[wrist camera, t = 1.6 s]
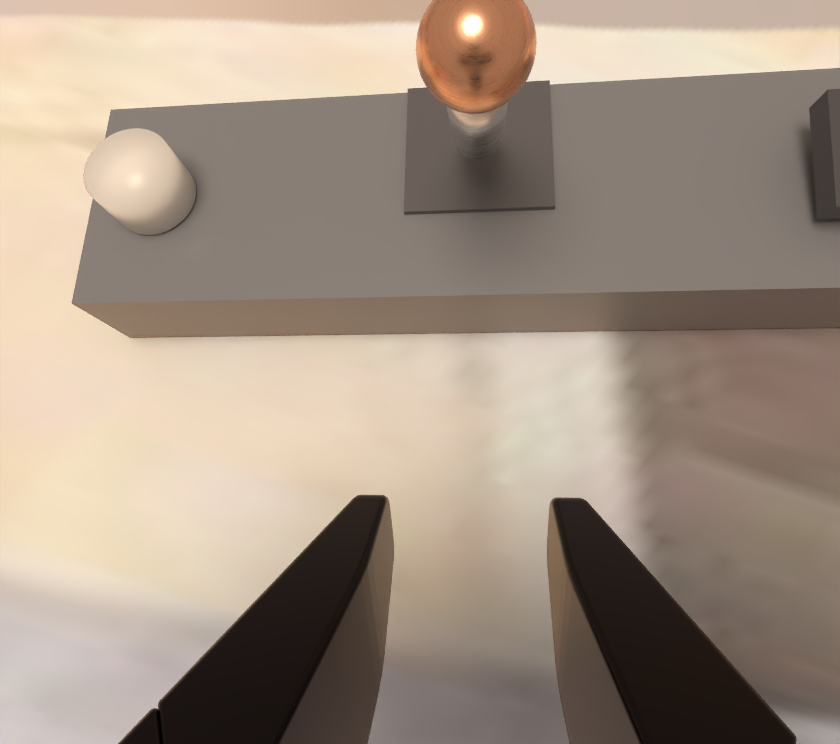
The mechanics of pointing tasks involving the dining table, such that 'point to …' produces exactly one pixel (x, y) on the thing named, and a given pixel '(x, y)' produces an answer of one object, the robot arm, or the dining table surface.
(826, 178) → the rocker
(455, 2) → the toggle lever
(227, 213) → the switch panel
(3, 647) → the dining table surface
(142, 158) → the push button
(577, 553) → the robot arm
